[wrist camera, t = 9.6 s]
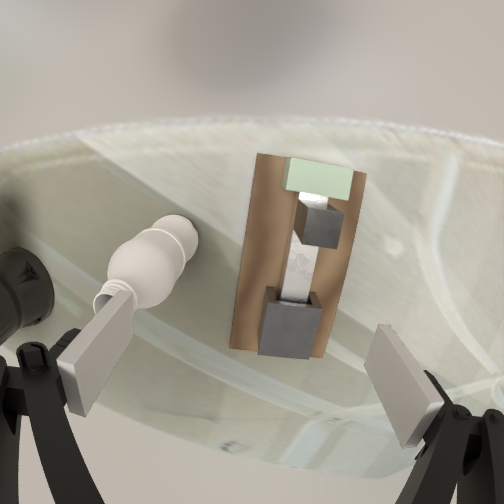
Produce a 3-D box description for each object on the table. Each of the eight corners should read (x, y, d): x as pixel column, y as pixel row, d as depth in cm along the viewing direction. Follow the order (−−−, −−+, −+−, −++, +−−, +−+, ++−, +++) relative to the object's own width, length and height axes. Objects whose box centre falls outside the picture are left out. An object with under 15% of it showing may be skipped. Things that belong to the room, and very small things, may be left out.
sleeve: (257, 333, 51) (258, 354, 45) (266, 285, 48) (267, 302, 42) (303, 338, 51) (308, 359, 45) (315, 291, 48) (322, 309, 43)
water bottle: (155, 210, 46) (67, 262, 22) (202, 213, 46) (149, 272, 22) (154, 256, 48) (77, 339, 24) (199, 260, 48) (153, 354, 24)
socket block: (281, 185, 44) (285, 189, 38) (286, 157, 43) (291, 157, 37) (336, 195, 44) (348, 200, 39) (341, 168, 43) (353, 169, 37)
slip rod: (275, 302, 49) (280, 343, 38) (299, 163, 43) (315, 165, 32) (300, 305, 49) (312, 346, 38) (327, 169, 43) (351, 172, 32)
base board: (229, 344, 52) (229, 347, 51) (257, 153, 44) (257, 153, 43) (321, 354, 53) (322, 357, 52) (364, 173, 44) (366, 173, 43)
